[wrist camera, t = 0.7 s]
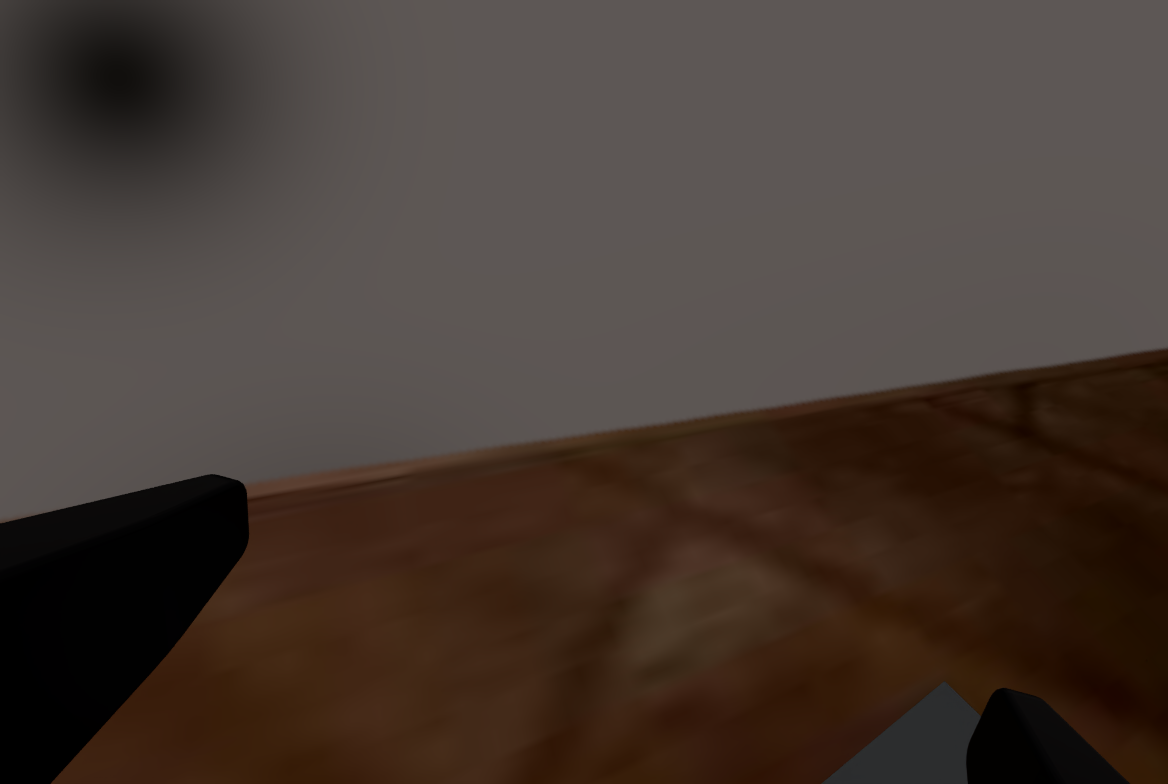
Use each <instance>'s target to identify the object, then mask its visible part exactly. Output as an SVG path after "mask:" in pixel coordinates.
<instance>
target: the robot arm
mask: <svg viewBox="0 0 1168 784" xmlns="http://www.w3.org/2000/svg"><path fill="white" fill-rule="evenodd" d="M248 540H249V523H248V504H247V491H246V488H245V486H244V484H243V483H241V482H240V481H238V480H234V479H231V478H227V477H223V476H220V475H215V474H210V475H204V476H201V477H196V478H192V479H187V480H183V481H179V482H175V483H171V484H166V485H162V486H158V487H154V488H150V489H145V490H141V491H137V492H132V493H128V494H124V495H120V496H115V497H111V498H107V499H103V500H98V501H94V502H90V503H86V504H81V505H77V506H73V507H69V508H64V509H60V510H56V511H52V512H47V513H43V514H39V515H35V516H30V517H26V518H22V519H18V520H13V521H9V522H5V523H1V524H0V784H51V783H52V781H53V780H54V779H55V778H56V777H57V776H58V775H59V774H60V773H61V772H62V770H63V769H64V768H65V767H66V766H67V765H68V764H69V763H70V762H71V761H72V759H73V758H74V757H75V756H76V755H77V754H78V753H79V752H80V751H81V750H82V748H83V747H84V746H85V745H86V744H87V743H88V742H89V741H90V740H91V739H92V737H93V736H94V735H95V734H96V733H97V732H98V731H99V730H100V729H101V728H102V726H103V725H104V724H105V723H106V722H107V721H108V720H109V719H110V718H111V717H112V715H113V714H114V713H115V712H116V711H117V710H118V709H119V708H120V707H121V706H122V704H123V703H124V702H125V701H126V700H127V699H128V698H129V697H130V696H131V695H132V693H133V692H134V691H135V690H136V689H137V688H138V687H139V686H140V685H141V684H142V682H143V681H144V680H145V679H146V678H147V677H148V676H149V675H150V674H151V673H152V671H153V670H154V669H155V668H156V667H157V666H158V665H159V663H160V662H161V661H162V660H163V659H164V658H165V657H166V655H167V654H168V653H169V652H170V651H171V649H172V648H173V647H174V646H175V644H176V643H177V642H178V641H179V639H180V638H181V637H182V636H183V634H184V633H185V632H186V630H187V629H188V628H189V626H190V625H191V624H192V622H193V621H194V620H195V618H196V617H197V616H198V614H199V613H200V612H201V610H202V609H203V607H204V606H205V605H206V603H207V602H208V601H209V599H210V598H211V597H212V595H213V594H214V593H215V591H216V590H217V589H218V587H219V586H220V585H221V583H222V582H223V581H224V579H225V578H226V577H227V575H228V574H229V573H230V571H231V570H232V569H233V567H234V566H235V565H236V563H237V562H238V561H239V559H240V558H241V557H242V555H243V553H244V551H245V549H246V547H247V544H248ZM966 770H967V781H968V784H1130V783H1129V782H1128V781H1127V780H1126V779H1125V778H1124V777H1122V776H1121V775H1120V774H1119V773H1118V772H1117V771H1116V770H1115V769H1114V768H1113V767H1112V766H1111V765H1110V764H1109V763H1108V762H1107V761H1106V760H1105V759H1104V758H1103V757H1102V756H1101V755H1100V754H1099V753H1098V752H1097V751H1096V750H1095V749H1094V748H1093V747H1092V746H1091V745H1089V744H1088V743H1087V742H1086V741H1085V740H1084V739H1083V738H1082V737H1081V736H1080V735H1079V734H1078V733H1077V732H1076V731H1075V730H1074V729H1073V728H1072V727H1071V726H1070V725H1069V724H1068V723H1067V722H1066V721H1065V720H1064V719H1063V718H1062V717H1061V716H1060V715H1059V714H1058V713H1056V712H1055V711H1054V710H1053V709H1052V708H1051V707H1050V706H1049V705H1048V704H1047V703H1046V702H1045V701H1044V700H1042V699H1041V698H1039V697H1037V696H1033V695H1030V694H1026V693H1022V692H1018V691H1015V690H1011V689H1007V688H1000V689H997V690H996V691H995V692H994V693H993V694H992V695H991V697H990V699H989V701H988V703H987V705H986V707H985V709H984V711H983V713H982V716H981V718H980V720H979V722H978V724H977V726H976V728H975V730H974V733H973V735H972V737H971V739H970V741H969V744H968V748H967V754H966Z"/></svg>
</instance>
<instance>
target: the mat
mask: <svg viewBox="0 0 1168 784" xmlns="http://www.w3.org/2000/svg"><path fill="white" fill-rule="evenodd" d="M980 718H981V716H980V715H979V714H978V713H977V712H976V711H975V710H974V709H973V708H972V707H971V706H970V705H968V704H967V703H966V702H965V701H964V700H963V699H962V698H961V697H960V696H959V695H958V694H957V693H956V692H955V691H954V690H953V689H952V688H951V687H950V686H949V685H948V684H947V683H946V682H945V681H944V682H943V683H942V684H940V685H939V686H938V687H937V688H936V689H934V690H933V691H932V692H931V693H930V694H928V695H927V696H926V697H925V698H924V699H922V700H921V701H920V702H919V703H918V704H916V705H915V706H914V707H913V708H912V709H910V710H909V711H908V712H907V713H906V714H904V715H903V716H902V717H901V718H900V719H899V720H897V721H896V722H895V723H894V724H893V725H891V726H890V727H889V728H888V729H887V730H885V731H884V732H883V733H882V734H881V735H879V736H878V737H877V738H876V739H875V740H873V741H872V742H871V743H870V744H869V745H867V746H866V747H865V748H864V749H863V750H861V751H860V752H859V753H858V754H857V755H855V756H854V757H853V758H852V759H851V760H849V761H848V762H847V763H846V764H845V765H843V766H842V767H841V768H840V769H839V770H837V771H836V772H835V773H834V774H833V775H831V776H830V777H829V778H828V779H827V780H825V781H824V782H823V783H822V784H968V781H967V770H966V754H967V748H968V744H969V741H970V739H971V737H972V735H973V733H974V730H975V728H976V726H977V724H978V722H979V720H980Z"/></svg>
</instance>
